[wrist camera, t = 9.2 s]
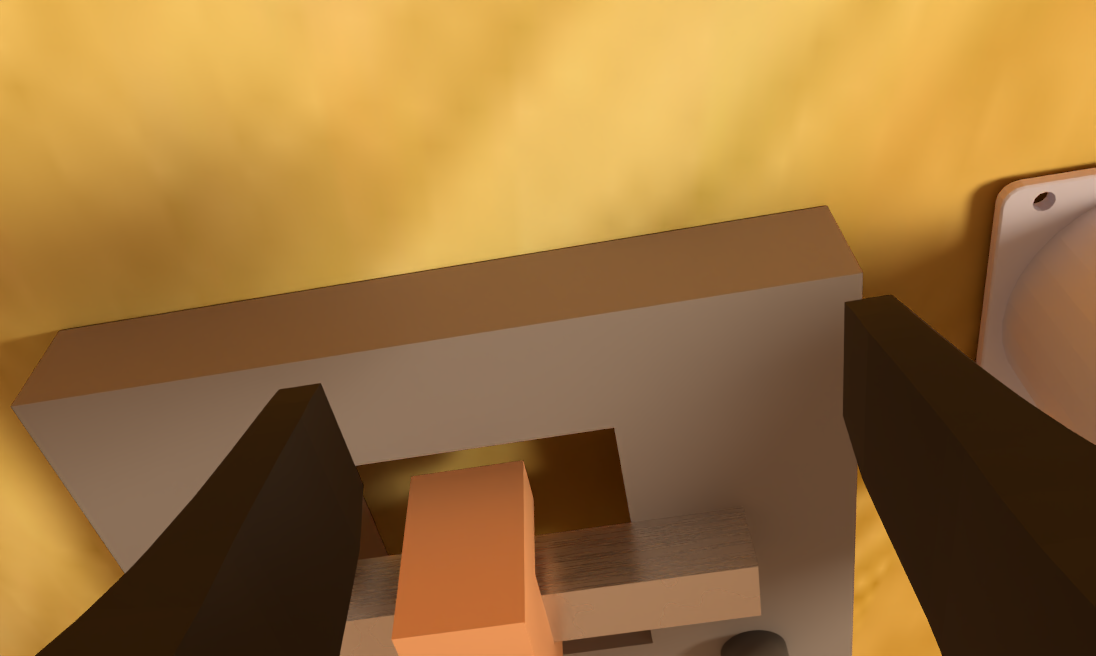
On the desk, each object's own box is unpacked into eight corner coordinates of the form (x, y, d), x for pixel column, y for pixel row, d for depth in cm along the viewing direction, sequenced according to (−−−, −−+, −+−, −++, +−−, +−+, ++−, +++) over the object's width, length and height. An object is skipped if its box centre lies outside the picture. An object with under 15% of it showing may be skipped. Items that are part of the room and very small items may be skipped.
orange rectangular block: (523, 460, 25) (524, 622, 21) (560, 602, 28) (567, 764, 24) (411, 476, 25) (391, 639, 21) (462, 615, 29) (453, 777, 25)
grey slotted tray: (827, 205, 23) (891, 327, 19) (826, 606, 33) (869, 743, 29) (58, 331, 25) (-29, 466, 21) (269, 678, 34) (236, 817, 30)
